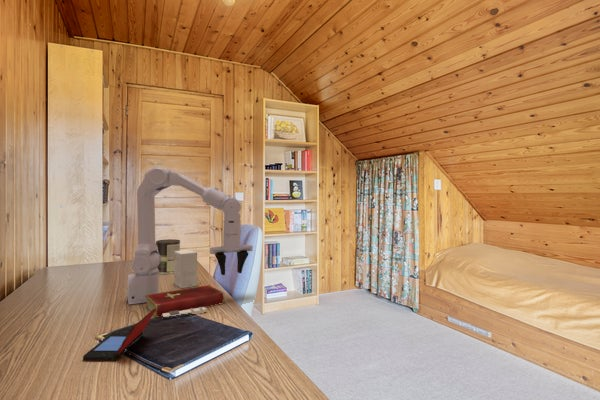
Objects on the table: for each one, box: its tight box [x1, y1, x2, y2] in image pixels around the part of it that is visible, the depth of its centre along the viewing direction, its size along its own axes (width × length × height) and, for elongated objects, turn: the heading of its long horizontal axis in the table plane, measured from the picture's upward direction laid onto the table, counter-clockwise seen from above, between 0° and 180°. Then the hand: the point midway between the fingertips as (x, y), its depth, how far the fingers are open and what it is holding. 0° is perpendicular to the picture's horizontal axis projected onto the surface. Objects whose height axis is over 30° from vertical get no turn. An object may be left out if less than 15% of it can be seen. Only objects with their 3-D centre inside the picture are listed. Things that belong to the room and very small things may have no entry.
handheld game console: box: [82, 309, 156, 362], centre depth 74 cm, size 12×11×7 cm
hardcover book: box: [145, 284, 225, 318], centre depth 104 cm, size 12×21×4 cm, turn 128°
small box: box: [173, 249, 198, 289], centre depth 127 cm, size 8×6×13 cm
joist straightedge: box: [161, 307, 208, 317], centre depth 95 cm, size 12×2×1 cm, turn 121°
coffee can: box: [155, 238, 181, 275], centre depth 149 cm, size 10×10×14 cm
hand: (231, 273), depth 111 cm, fingers open, 5 cm apart
